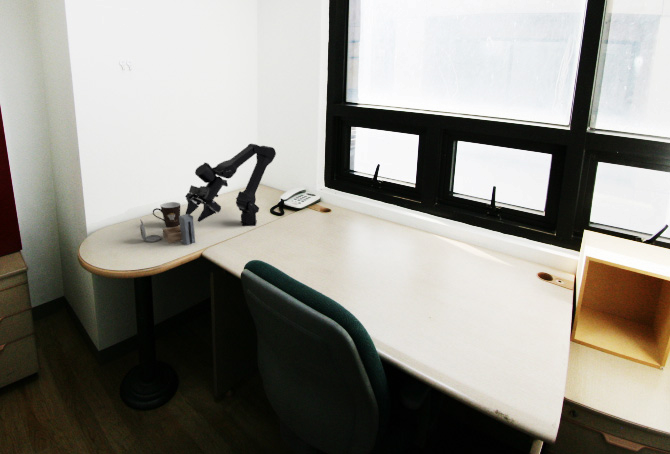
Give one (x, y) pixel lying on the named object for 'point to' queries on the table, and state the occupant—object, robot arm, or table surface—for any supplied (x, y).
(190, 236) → the tall gray prism
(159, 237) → the pocket watch
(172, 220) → the coffee mug
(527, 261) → the table surface
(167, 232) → the open wooden box
